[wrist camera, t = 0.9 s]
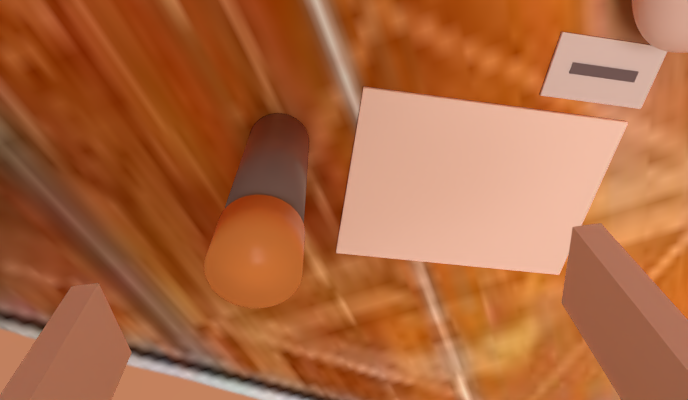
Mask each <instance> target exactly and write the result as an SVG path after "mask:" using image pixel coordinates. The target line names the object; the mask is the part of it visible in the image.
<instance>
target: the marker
mask: <svg viewBox="0 0 688 400" xmlns="http://www.w3.org/2000/svg"><path fill="white" fill-rule="evenodd" d="M308 153H309V136H308V133H307V131H306V129H305V127H304V126H303V124H302V123H301V122H300V121H298V120H297V119H296V118H294V117H292V116H290V115H287V114H282V113H274V114H269V115H266V116H264V117H262V118H261V119H259V120H258V121H257V122H256V123H255V124H254V126H253V128H252V130H251V132H250V135H249V138H248V141H247V144H246V147H245V150H244V153H243V156H242V159H241V162H240V165H239V168H238V171H237V174H236V177H235V180H234V183H233V185H232V188H231V191H230V194H229V197H228V200H227V203H226V206H225V209H224V210H223V212H222V213H221V215H220V217H219V220H218V223H217V226H216V229H215V231H214V234H213V237H212V240H211V243H210V246H209V249H208V252H207V255H206V258H205V261H204V272H205V277H206V279H207V281H208V283H209V285H210V287H211V288H212V289H213V290H214V291H215V292H216V293H217V294H218V295H219V296H220V297H222V298H223V299H225V300H226V301H228V302H230V303H232V304H235V305H238V306H242V307H247V308H266V307H271V306H275V305H277V304H280V303H282V302H284V301H285V300H287V299H288V298H290V297H291V296H292V295H293V294H294V293H295V292H296V290H297V289H298V287H299V285H300V283H301V280H302V274H303V258H304V242H305V227H304V212H305V197H306V182H307V168H308Z"/></svg>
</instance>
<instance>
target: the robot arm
mask: <svg viewBox="0 0 688 400" xmlns="http://www.w3.org/2000/svg"><path fill="white" fill-rule="evenodd" d="M562 304H563V306H564V307H565V309H566V311H567V312H568V314H569V315H570V317H571V319H572V320H573V322H574V324H575V325H576V327H577V328H578V330H579V332H580V333H581V335H582V337H583V338H584V340H585V341H586V343H587V345H588V346H589V348H590V349H591V351H592V353H593V354H594V356H595V358H596V359H597V361H598V362H599V364H600V366H601V367H602V369H603V371H604V372H605V374H606V375H607V377H608V379H609V380H610V382H611V384H612V385H613V387H614V388H615V390H616V392H617V393H618V395H619V396H620V398H621V400H688V320H687V319H686V318H685V316H684V315H683V314H682V313H681V312H680V311H679V310H678V309H677V308H676V306H675V305H674V304H673V303H672V302H671V301H670V300H669V299H668V298H667V296H666V295H665V294H664V293H663V292H662V291H661V290H660V289H659V288H658V286H657V285H656V284H655V283H654V282H653V281H652V280H651V279H650V277H649V276H648V275H647V274H646V273H645V272H644V271H643V270H642V269H641V267H640V266H639V265H638V264H637V263H636V262H635V261H634V260H633V259H632V257H631V256H630V255H629V254H628V253H627V252H626V251H625V250H624V249H623V247H622V246H621V245H620V244H619V243H618V242H617V241H616V240H615V239H614V237H613V236H612V235H611V234H610V233H609V232H608V231H607V230H606V229H605V227H604V226H603V225H602V224H601V223H600V224H592V225H583V226H575V227H573V228H572V235H571V242H570V249H569V255H568V262H567V269H566V276H565V283H564V290H563V297H562ZM130 355H131V350H130V348H129V346H128V344H127V342H126V340H125V338H124V336H123V333H122V331H121V329H120V327H119V325H118V323H117V321H116V319H115V317H114V314H113V312H112V310H111V308H110V306H109V304H108V302H107V300H106V298H105V295H104V293H103V291H102V289H101V287H100V285H99V283H95V284H86V285H78V286H71V288H70V289H69V291H68V292H67V294H66V295H65V297H64V298H63V300H62V301H61V303H60V305H59V306H58V308H57V309H56V311H55V312H54V314H53V315H52V317H51V318H50V320H49V321H48V323H47V324H46V326H45V327H44V329H43V330H42V332H41V333H40V335H39V337H38V338H37V340H36V341H35V343H34V344H33V346H32V347H31V349H30V350H29V352H28V353H27V355H26V356H25V358H24V359H23V361H22V362H21V364H20V366H19V367H18V369H17V370H16V372H15V373H14V375H13V376H12V378H11V379H10V381H9V382H8V384H7V385H6V387H5V388H4V390H3V391H2V393H1V395H0V400H111V399H112V397H113V395H114V393H115V390H116V388H117V386H118V383H119V381H120V378H121V376H122V374H123V371H124V369H125V367H126V364H127V362H128V360H129V357H130Z"/></svg>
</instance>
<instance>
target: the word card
mask: <svg viewBox="0 0 688 400" xmlns="http://www.w3.org/2000/svg"><path fill="white" fill-rule="evenodd" d="M666 53H667V51H664V50H660V49H658V48H656V47H654V46H652V45H648V44H641V43H635V42H628V41H621V40H615V39H608V38H601V37H595V36H588V35H581V34H575V33H568V32H561V34H560V37H559V40H558V43H557V46H556V49H555V51H554V54H553V57H552V60H551V63H550V66H549V69H548V72H547V74H546V77H545V80H544V83H543V86H542V89H541V92H540V95H541V96H549V97H556V98H564V99H571V100H578V101H586V102H593V103H601V104H608V105H615V106H623V107H630V108H637V109H641V107H642V105H643V103H644V101H645V99H646V97H647V94H648V92H649V90H650V88H651V86H652V84H653V81H654V79H655V77H656V75H657V73H658V71H659V68H660V66H661V64H662V62H663V60H664V58H665V55H666Z"/></svg>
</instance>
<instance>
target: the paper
mask: <svg viewBox="0 0 688 400" xmlns="http://www.w3.org/2000/svg"><path fill="white" fill-rule="evenodd" d="M627 124H628V122H626V121H622V120H614V119H606V118H599V117H591V116H584V115H576V114H569V113H561V112H554V111H546V110H538V109H531V108H523V107H516V106H508V105H501V104H493V103H485V102H478V101H470V100H463V99H455V98H448V97H440V96H433V95H425V94H417V93H410V92H402V91H395V90H387V89H380V88H372V87H364V86H363V92H362V98H361V104H360V110H359V116H358V122H357V128H356V134H355V140H354V146H353V152H352V158H351V164H350V170H349V176H348V182H347V188H346V194H345V200H344V206H343V212H342V218H341V224H340V230H339V236H338V242H337V248H336V253H341V254H351V255H361V256H372V257H382V258H392V259H402V260H413V261H423V262H433V263H443V264H454V265H464V266H474V267H484V268H495V269H505V270H515V271H525V272H536V273H546V274H556V275H559V274H560V272H561V269H562V267H563V265H564V263H565V261H566V258H567V256H568V254H569V249H570V242H571V235H572V228H573V227H575V226H581V225H582V223H583V221H584V219H585V217H586V214H587V212H588V210H589V208H590V206H591V203H592V201H593V199H594V197H595V195H596V192H597V190H598V188H599V186H600V184H601V181H602V179H603V177H604V175H605V173H606V170H607V168H608V166H609V164H610V162H611V159H612V157H613V155H614V153H615V151H616V148H617V146H618V144H619V142H620V140H621V137H622V135H623V133H624V131H625V129H626V126H627Z"/></svg>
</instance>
